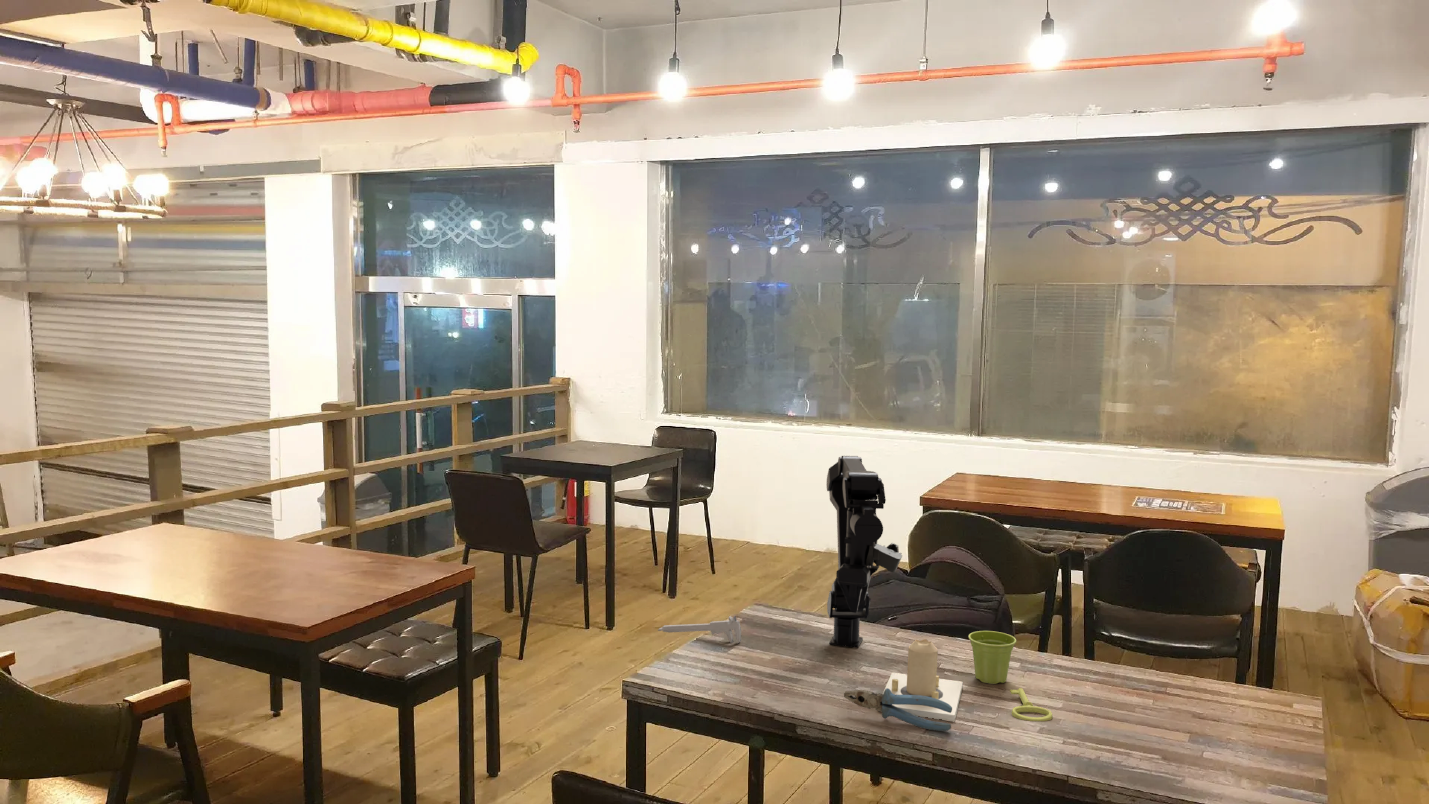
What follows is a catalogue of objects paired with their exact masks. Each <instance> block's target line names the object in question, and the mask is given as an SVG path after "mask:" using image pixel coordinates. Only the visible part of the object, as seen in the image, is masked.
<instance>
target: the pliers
mask: <svg viewBox="0 0 1429 804" xmlns="http://www.w3.org/2000/svg"><path fill="white" fill-rule="evenodd" d="M884 690H885V691H884ZM884 690H883V692H884V693H881V692H880V693H876V692H875V693H874V691H871V690H866V689H855V690H847V691H845V692H843V698H844V699H846V700H848V701H850V702H852V703H853V704H854V705H856V706H858V707H861V708H863V709H868V710H870V709H873V710H875V711H878V712H881V716H882V717H881V718H883V719H884V720H887V719H888V718H889V717H894V718H895V719H898V720H900V721H903V722H906V723H907V724H910V725H912V726H915V727H918V728H920V727H921V728H920V729H924V728H925V730H929V729H930V731H935V730H936V731H939V732H948V731H950V730H951V729H952V725H951V723H947V722H940V721H936V720H935V721H934V720H929V719H927V718H926V719H925V718H924V717H918V716H915V715H913V714H911V713H909V712H907V711H904V710H902V709H900V708H898V707H895V706H894V705H892V704H895V705H923V706H929V707H934V708H937V709H941V710H943V711H946V712H949V713H951V712H952V707H951V706H950V705H949V704H948V703H946V702H943V701H941V700H938V699H935V698H931V697H927V696H921V695H895V694H893V693H892V692H891V691H890V689H888V688H886V689H885V688H884ZM936 731H935V732H936Z"/></svg>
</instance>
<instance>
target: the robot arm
mask: <svg viewBox="0 0 1429 804" xmlns="http://www.w3.org/2000/svg"><path fill="white" fill-rule="evenodd" d="M884 486H885V485H884V483H883V480H882V479H881V478H880V477H879V474H878V472H876V471H871V470H867V469H866V468H865V465H864V464H863V459H862V457H861V456H858V455H841V456H839V457H838V460H837V462H836V463H835V464H833V465H832V466H830V467H829V468H828V471H827V475H826V492H829V493H828V494H829V501H830V502H831V504H832V505H833V507H834V509H835V511H836V523H837V524H836V527H837V530H836V531H837V532H836V533H837V535H836V536H837V537H836V538H837V571H836V573H835V575H836V576H835V577H836V578H834V581H833V583H832V585H831V590H830V591H829V594H828V598H827V602H826V606H827V611H826V612H827V614H828V617H829V619H833V636H832V638H831V639H830V641H829V643H828V645H831V646H837V647H838V646H839V647H848V648H859V647H860V645H861V643H862V642H863V639H864V637H862V636H860V622H861V621H860V619H866V620H867V619H868V617H869V616H870V606H871V600H872V598H871V597H870V595H869V591H868V589H869V585H870V581H871V578H872V575H873V574H875V573H876V572H877V571H878V570H879V568H883V569H886V571H888V572H890V573H892V574H893V573H895V572H897V569H898V567H899V564H900V563H901V560H902V558H903V555H902V552H900V551H899V545H898V544H896V543H894V542H891V543H890V544H888V545H887V546H886V545H882V544H879V543H878V540H879V539H880V538H882V535H883V533H884V526H883V522H882V521H881V519H880V518H879V517H878V515H877V509H878V510H879V509H881V510H884V507H885V506H884V505H885V504H886V501H887V499H886V492H885V487H884ZM874 564H875V565H874Z"/></svg>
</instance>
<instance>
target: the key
mask: <svg viewBox="0 0 1429 804" xmlns="http://www.w3.org/2000/svg"><path fill="white" fill-rule="evenodd" d="M1009 692H1010V695H1017V696H1019V698H1020V700H1021V702H1022V705H1019V706H1018V705H1017V706H1015V707H1013V708H1012V709H1011V716H1012V717H1014V718H1015V719H1018V720H1022V721H1030V722H1047V721H1050V720H1052V719H1053V713H1052V711H1051V710H1050V709H1047V708H1045V707H1040V706H1036V705H1035V706H1034V704H1033V703H1032V701H1029V699H1028V696H1027V694H1026V693H1025V690H1024V688H1022V687H1019V688H1018V689H1009ZM1020 713H1036V714H1042V715H1045V716H1040V717H1033V716H1027V715H1023V714H1020Z"/></svg>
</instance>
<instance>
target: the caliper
mask: <svg viewBox="0 0 1429 804" xmlns="http://www.w3.org/2000/svg"><path fill="white" fill-rule="evenodd" d="M740 623H741V622H740V620H737V615H734V616H733V617H732V616H731V615H730V616H728V620H716V621H714V620H713V621H710V622H709V623H689V624H688V623H687V624H669V625H663V626H662V627H659V628H658V629H657V631H659V632H661V631H662V632H663V633H686V632H687V633H688V632H710V633H711V634H712V635H715V634H717V635H719V634H721V633H725V636H726V637H727V639H728V641H729V643H734V636H735V640H736V643H737V644H739V643H740V642H741V641H742V627H741V624H740ZM732 630H733V631H734V635H733V632H732Z"/></svg>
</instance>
